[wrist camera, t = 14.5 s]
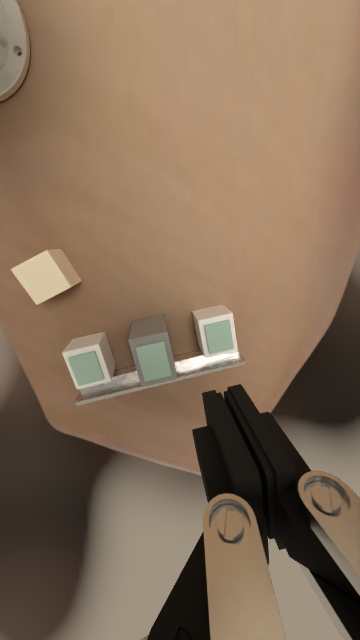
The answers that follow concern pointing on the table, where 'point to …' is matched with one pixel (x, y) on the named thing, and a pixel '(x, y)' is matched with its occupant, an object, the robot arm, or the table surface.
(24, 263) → the cream cube
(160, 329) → the block
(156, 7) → the table surface
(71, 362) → the mounted modules
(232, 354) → the rail
